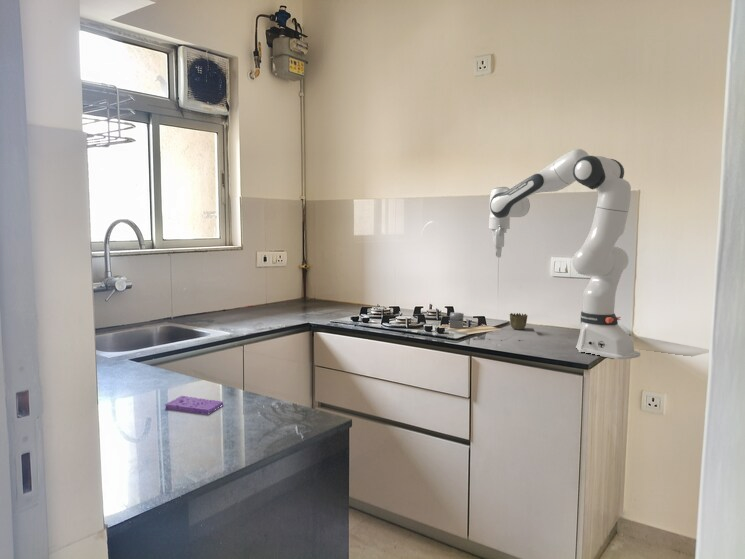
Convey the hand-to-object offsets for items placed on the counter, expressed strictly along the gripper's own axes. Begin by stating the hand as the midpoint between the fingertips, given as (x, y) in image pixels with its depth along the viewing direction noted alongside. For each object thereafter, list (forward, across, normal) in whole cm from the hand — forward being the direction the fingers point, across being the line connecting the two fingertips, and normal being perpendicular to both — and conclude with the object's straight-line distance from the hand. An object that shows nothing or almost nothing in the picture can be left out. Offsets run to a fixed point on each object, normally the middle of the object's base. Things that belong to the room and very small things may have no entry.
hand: (498, 256), depth 250 cm
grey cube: (+30, -8, +17) cm, 36 cm away
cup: (+32, -6, -9) cm, 34 cm away
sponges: (+33, -125, +79) cm, 152 cm away
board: (+32, -8, +12) cm, 35 cm away
